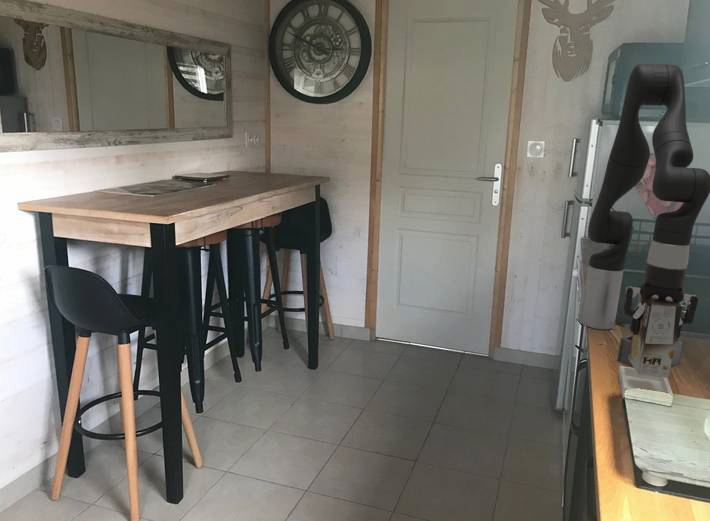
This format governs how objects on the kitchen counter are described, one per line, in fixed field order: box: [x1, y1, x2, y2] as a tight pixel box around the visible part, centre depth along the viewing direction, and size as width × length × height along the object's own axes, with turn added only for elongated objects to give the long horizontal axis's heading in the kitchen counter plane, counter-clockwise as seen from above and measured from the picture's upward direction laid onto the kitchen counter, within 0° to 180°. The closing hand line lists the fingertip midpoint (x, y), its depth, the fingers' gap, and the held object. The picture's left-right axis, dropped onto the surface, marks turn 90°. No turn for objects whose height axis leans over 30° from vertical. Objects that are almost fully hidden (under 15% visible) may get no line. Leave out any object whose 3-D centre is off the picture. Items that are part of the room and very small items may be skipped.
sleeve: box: [616, 333, 685, 368], centre depth 149 cm, size 10×13×6 cm
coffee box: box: [628, 293, 683, 379], centre depth 131 cm, size 9×6×16 cm
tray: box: [618, 365, 674, 399], centre depth 134 cm, size 13×10×2 cm
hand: (653, 336), depth 131 cm, fingers closed on coffee box, 7 cm apart
